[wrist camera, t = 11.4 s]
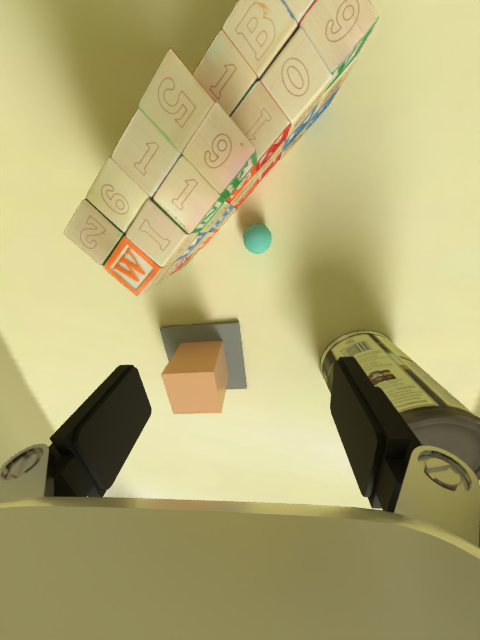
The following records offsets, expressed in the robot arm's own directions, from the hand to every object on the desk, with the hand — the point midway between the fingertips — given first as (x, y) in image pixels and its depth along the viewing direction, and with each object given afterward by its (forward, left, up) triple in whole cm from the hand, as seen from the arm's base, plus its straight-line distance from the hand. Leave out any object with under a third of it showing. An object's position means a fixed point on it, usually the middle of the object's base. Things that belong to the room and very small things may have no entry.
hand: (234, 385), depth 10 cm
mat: (+10, -7, -19) cm, 23 cm away
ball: (-6, +2, -16) cm, 18 cm away
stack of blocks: (-12, -1, -19) cm, 22 cm away
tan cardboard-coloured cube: (+10, -7, -18) cm, 22 cm away
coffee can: (+12, +14, -19) cm, 27 cm away
